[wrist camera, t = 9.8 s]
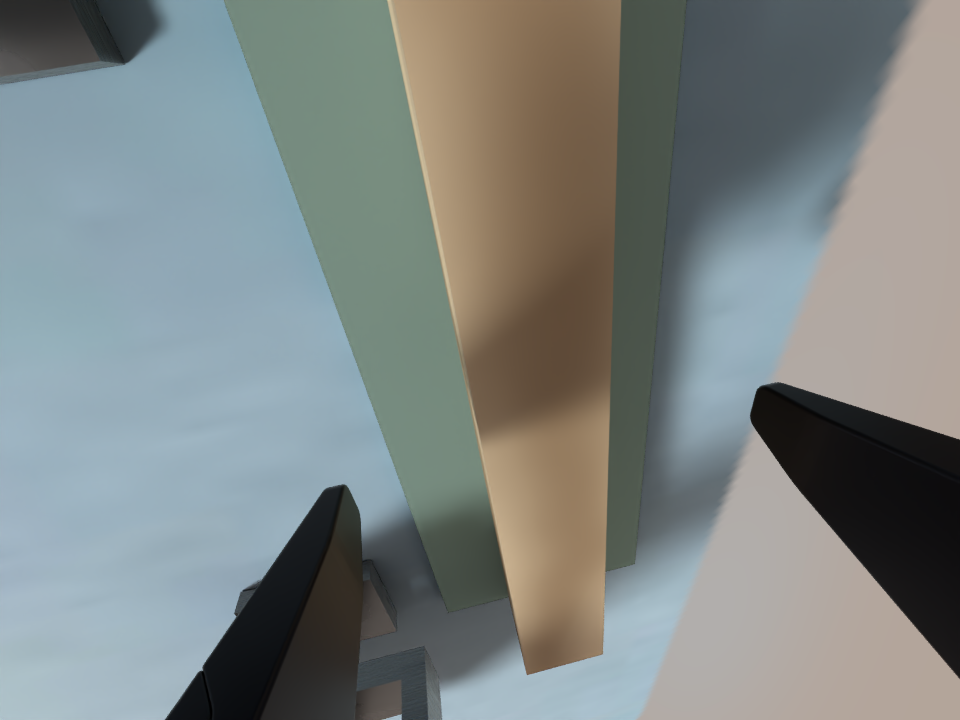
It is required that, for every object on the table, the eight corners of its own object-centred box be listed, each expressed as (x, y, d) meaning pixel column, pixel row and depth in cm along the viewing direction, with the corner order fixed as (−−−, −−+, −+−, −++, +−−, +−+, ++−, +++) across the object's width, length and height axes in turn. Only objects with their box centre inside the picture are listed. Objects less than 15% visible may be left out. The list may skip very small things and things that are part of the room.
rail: (508, 596, 18) (526, 675, 16) (310, -378, 6) (240, -777, 3) (574, 579, 19) (602, 654, 16) (533, -398, 6) (642, -788, 3)
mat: (446, 599, 19) (448, 612, 18) (72, -447, 5) (38, -504, 5) (628, 552, 19) (634, 564, 19) (708, -499, 6) (737, -555, 5)
